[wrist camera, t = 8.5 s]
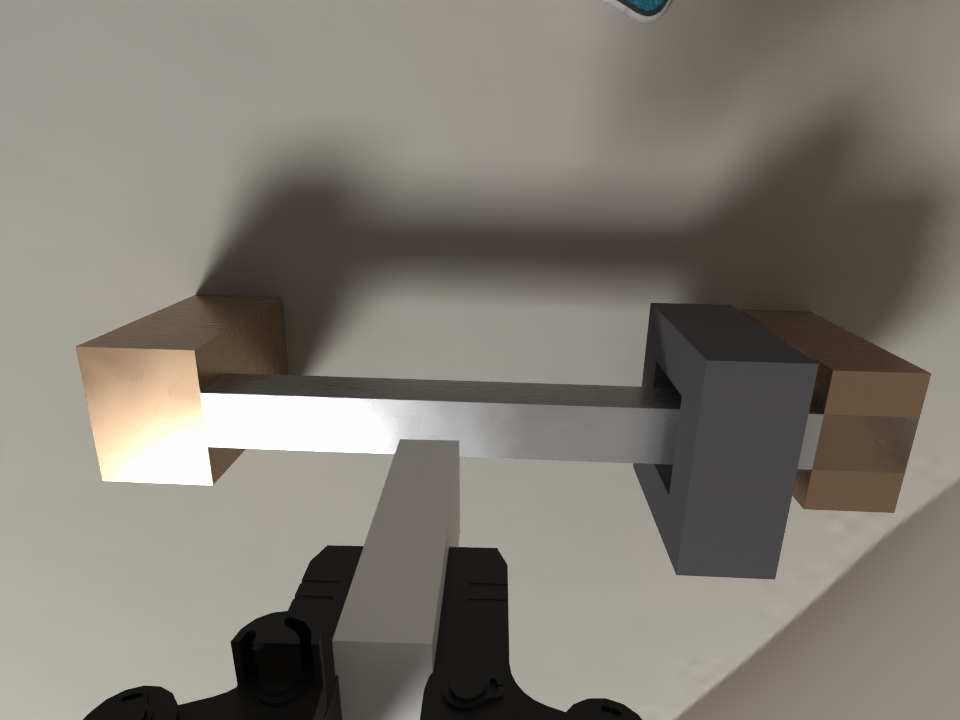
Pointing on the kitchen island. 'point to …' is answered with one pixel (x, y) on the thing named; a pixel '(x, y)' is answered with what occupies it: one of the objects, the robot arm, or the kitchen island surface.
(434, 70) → the kitchen island surface
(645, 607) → the kitchen island surface
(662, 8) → the smartphone
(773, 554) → the grey rectangular sleeve
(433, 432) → the sliding collar rod
